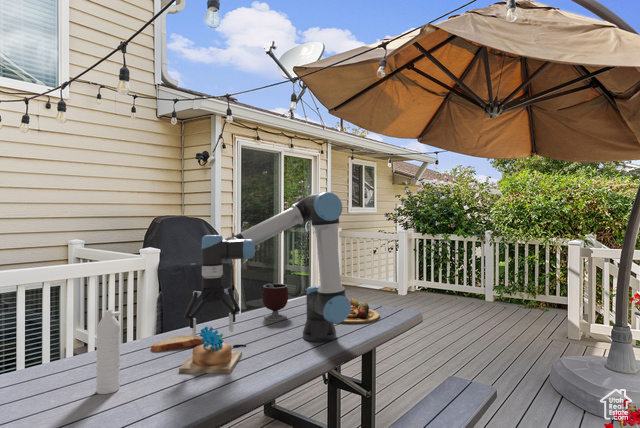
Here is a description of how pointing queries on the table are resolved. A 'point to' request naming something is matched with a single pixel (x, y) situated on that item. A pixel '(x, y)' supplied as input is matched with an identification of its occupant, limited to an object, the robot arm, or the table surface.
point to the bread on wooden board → (211, 360)
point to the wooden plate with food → (360, 314)
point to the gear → (211, 338)
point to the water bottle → (108, 353)
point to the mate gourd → (275, 300)
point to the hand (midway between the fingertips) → (213, 333)
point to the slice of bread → (176, 343)
